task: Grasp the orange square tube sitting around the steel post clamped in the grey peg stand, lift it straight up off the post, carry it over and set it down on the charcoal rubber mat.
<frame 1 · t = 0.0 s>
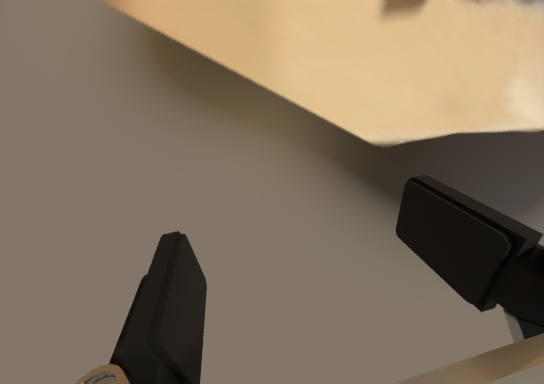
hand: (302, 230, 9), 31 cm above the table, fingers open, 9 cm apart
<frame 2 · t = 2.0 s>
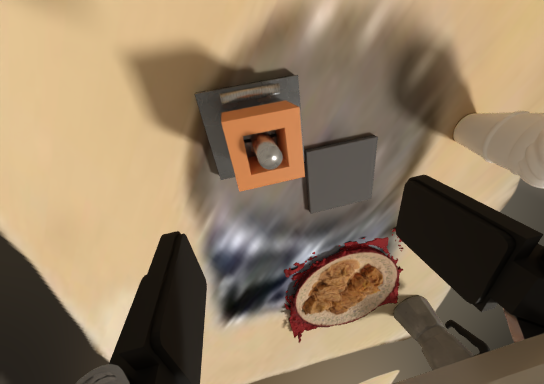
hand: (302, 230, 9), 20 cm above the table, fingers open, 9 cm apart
mat: (339, 175, 32), on the table
grey peg stand: (254, 129, 26), on the table
orange square tube: (259, 138, 23), point 4 cm above the table, touching grey peg stand
plate with food: (340, 281, 46), on the table
coffeepot: (410, 303, 55), on the table
soft serve ice cream cone: (464, 127, 32), on the table
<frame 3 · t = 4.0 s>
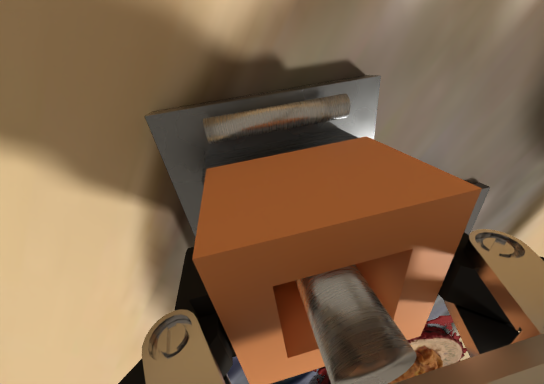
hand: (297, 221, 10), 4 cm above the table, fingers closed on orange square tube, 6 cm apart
mat: (410, 243, 19), on the table
grey peg stand: (277, 180, 13), on the table
orange square tube: (296, 217, 10), point 4 cm above the table, touching gripper, grey peg stand
plate with food: (380, 362, 33), on the table
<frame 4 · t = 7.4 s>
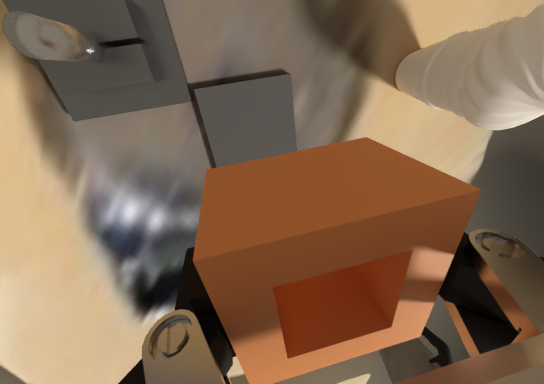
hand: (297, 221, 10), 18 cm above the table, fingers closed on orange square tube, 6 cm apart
mat: (251, 128, 25), on the table
grey peg stand: (113, 51, 20), on the table
orange square tube: (296, 218, 10), point 18 cm above the table, touching gripper
coffeepot: (372, 298, 49), on the table
soft serve ice cream cone: (410, 72, 26), on the table
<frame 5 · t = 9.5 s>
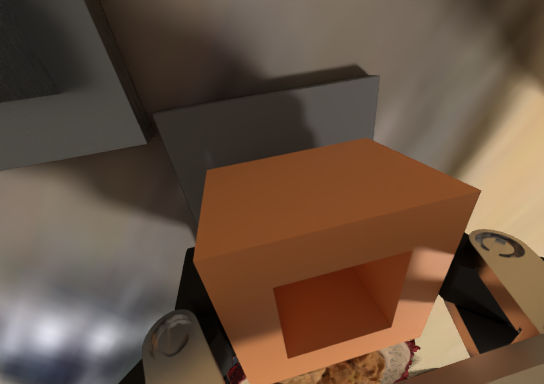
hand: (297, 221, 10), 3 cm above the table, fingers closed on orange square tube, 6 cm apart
mat: (281, 186, 12), on the table
orange square tube: (296, 218, 10), point 3 cm above the table, touching gripper
plate with food: (312, 363, 27), on the table
when the fingers open (3 cm above the table, at t = 10.6 s): orange square tube drops 1 cm, resting on mat.
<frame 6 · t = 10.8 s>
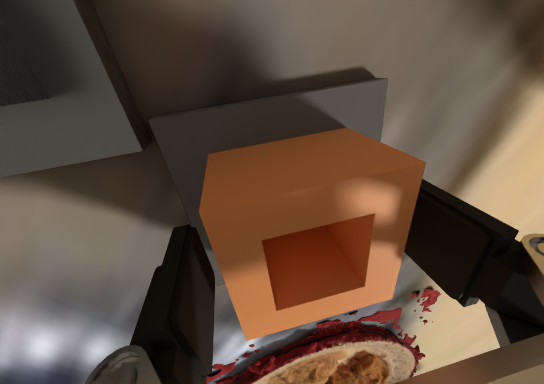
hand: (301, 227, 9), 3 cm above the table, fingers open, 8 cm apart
mat: (283, 193, 12), on the table
orange square tube: (287, 200, 11), point 1 cm above the table, touching mat
plate with food: (314, 371, 26), on the table
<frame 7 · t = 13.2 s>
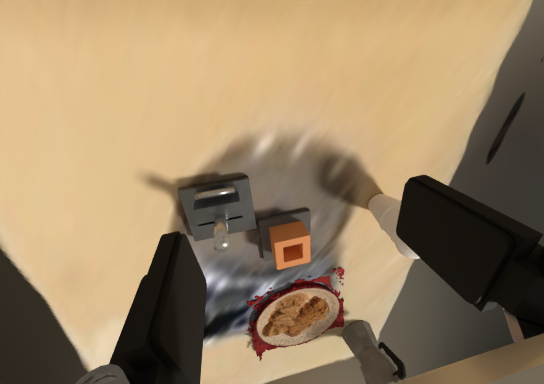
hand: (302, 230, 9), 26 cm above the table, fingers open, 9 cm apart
mat: (285, 234, 43), on the table
grey peg stand: (220, 207, 37), on the table
orange square tube: (286, 237, 42), point 1 cm above the table, touching mat
plate with food: (295, 309, 57), on the table
coffeepot: (356, 326, 66), on the table
soft serve ice cream cone: (376, 202, 45), on the table
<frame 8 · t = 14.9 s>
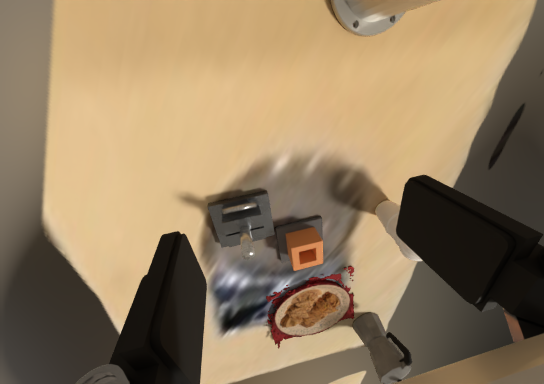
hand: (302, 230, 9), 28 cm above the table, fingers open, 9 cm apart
mat: (299, 239, 48), on the table
grey peg stand: (243, 218, 43), on the table
orange square tube: (300, 241, 48), point 1 cm above the table, touching mat
plate with food: (309, 302, 62), on the table
coffeepot: (365, 318, 72), on the table
soft serve ice cream cone: (383, 207, 49), on the table
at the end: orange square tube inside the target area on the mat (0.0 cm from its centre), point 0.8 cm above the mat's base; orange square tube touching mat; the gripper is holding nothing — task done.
